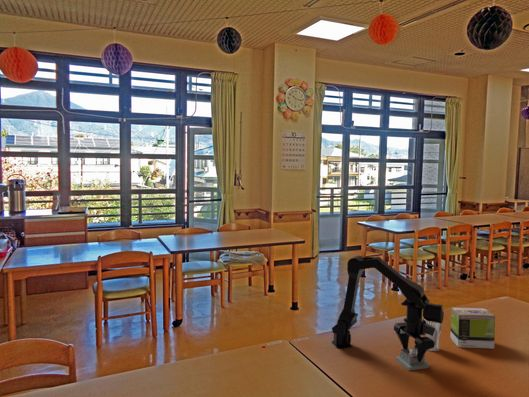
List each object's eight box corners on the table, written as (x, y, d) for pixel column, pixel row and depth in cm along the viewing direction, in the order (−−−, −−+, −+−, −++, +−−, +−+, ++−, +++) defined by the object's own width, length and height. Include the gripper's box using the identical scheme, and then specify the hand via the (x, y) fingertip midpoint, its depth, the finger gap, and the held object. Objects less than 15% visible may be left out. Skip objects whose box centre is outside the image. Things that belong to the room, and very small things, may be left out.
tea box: (484, 339, 184) (486, 307, 183) (494, 349, 174) (496, 315, 173) (449, 338, 186) (450, 306, 185) (457, 347, 176) (459, 314, 175)
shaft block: (408, 370, 156) (409, 355, 156) (395, 359, 165) (396, 345, 164) (429, 367, 158) (430, 352, 158) (415, 357, 167) (416, 342, 167)
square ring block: (409, 365, 158) (410, 356, 157) (400, 357, 164) (400, 349, 164) (424, 363, 159) (424, 354, 159) (414, 356, 166) (414, 347, 165)
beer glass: (421, 349, 174) (423, 315, 172) (423, 343, 180) (425, 310, 179) (439, 353, 171) (441, 318, 169) (441, 346, 177) (442, 312, 175)
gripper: (448, 324, 153) (446, 365, 154) (417, 307, 171) (416, 343, 172) (421, 327, 150) (420, 368, 152) (393, 309, 168) (392, 346, 170)
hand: (412, 356), depth 161 cm, fingers open, 9 cm apart
